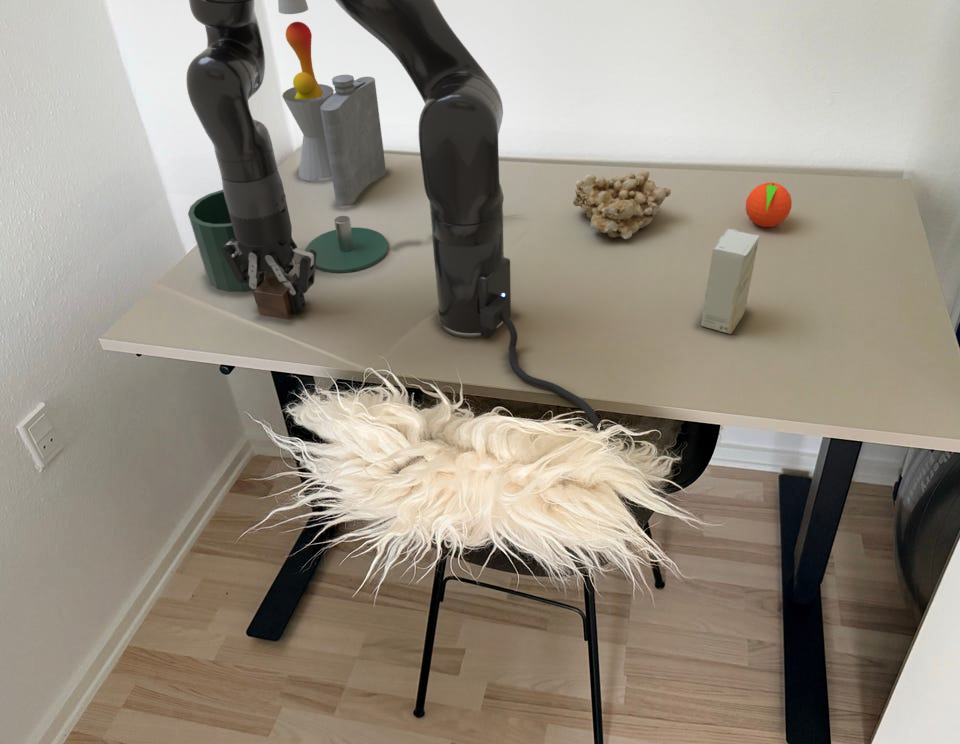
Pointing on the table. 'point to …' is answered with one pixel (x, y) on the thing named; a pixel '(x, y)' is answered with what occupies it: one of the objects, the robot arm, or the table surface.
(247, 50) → the robot arm
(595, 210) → the mineral formation
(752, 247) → the cosmetic box
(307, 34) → the lava lamp
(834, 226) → the table surface
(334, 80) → the hip flask
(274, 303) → the block
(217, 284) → the open teal cylindrical container
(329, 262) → the teal disc with peg
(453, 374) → the table surface
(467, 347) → the table surface
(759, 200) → the clementine
